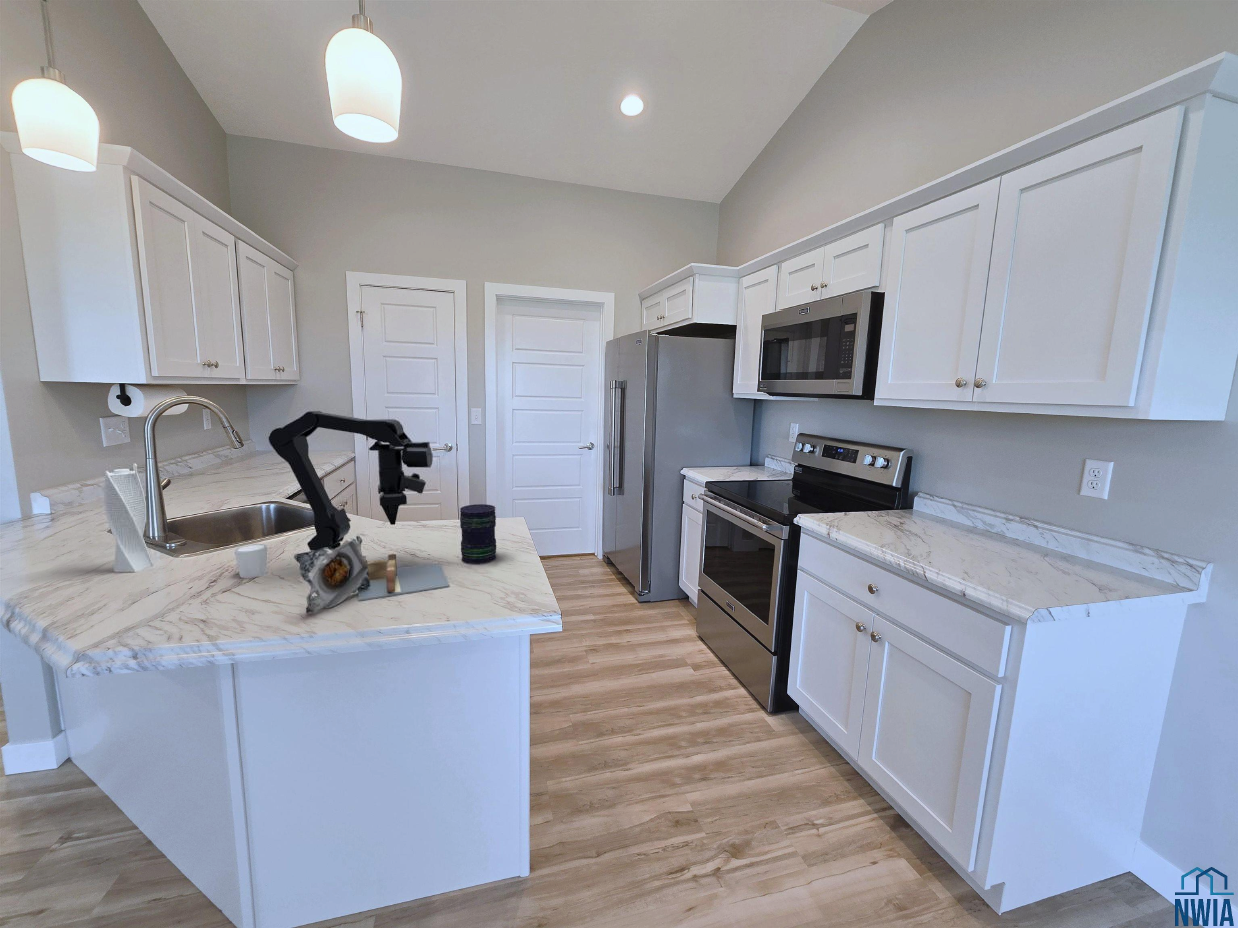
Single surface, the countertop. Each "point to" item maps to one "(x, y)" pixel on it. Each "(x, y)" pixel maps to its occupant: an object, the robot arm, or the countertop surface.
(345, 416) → the robot arm
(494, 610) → the countertop surface
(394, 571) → the rail
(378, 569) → the fixed fence rail
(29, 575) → the countertop surface
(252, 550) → the white cylinder
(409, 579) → the board
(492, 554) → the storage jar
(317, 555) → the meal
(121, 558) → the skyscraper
